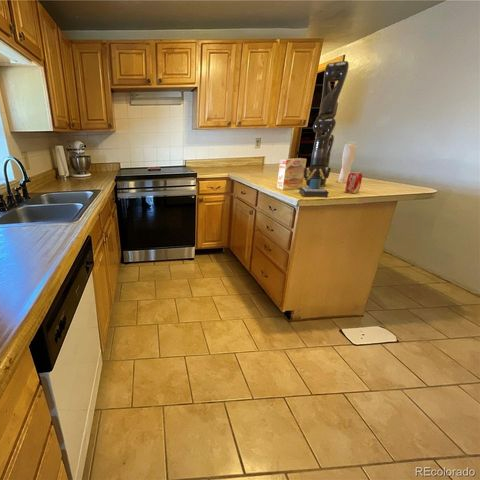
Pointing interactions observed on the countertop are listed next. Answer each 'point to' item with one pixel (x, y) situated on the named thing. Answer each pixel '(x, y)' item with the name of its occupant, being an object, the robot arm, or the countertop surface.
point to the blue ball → (314, 183)
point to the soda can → (353, 182)
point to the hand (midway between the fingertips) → (314, 185)
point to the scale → (314, 193)
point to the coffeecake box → (291, 173)
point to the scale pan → (313, 189)
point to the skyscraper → (347, 161)
